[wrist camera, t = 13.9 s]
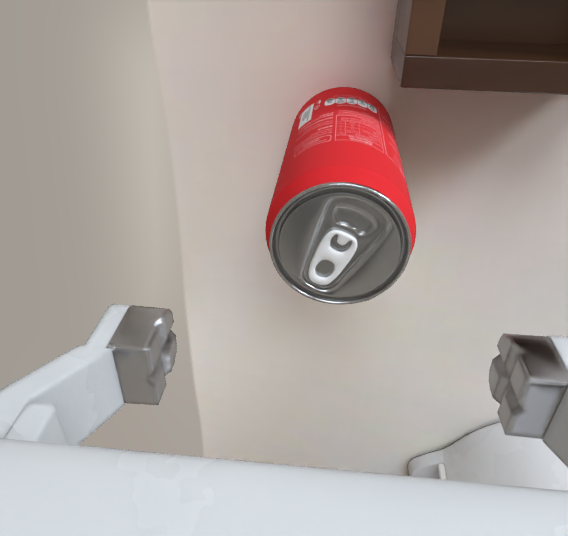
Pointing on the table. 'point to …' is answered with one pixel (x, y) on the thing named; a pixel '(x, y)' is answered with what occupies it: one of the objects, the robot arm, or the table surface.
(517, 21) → the divided wooden box
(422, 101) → the table surface
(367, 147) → the beverage can
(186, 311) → the table surface
